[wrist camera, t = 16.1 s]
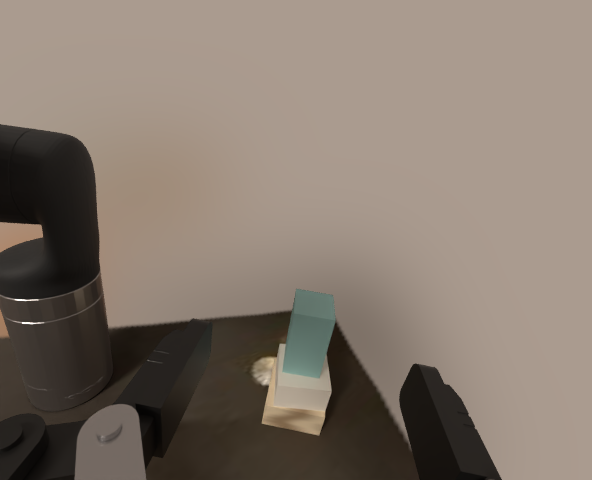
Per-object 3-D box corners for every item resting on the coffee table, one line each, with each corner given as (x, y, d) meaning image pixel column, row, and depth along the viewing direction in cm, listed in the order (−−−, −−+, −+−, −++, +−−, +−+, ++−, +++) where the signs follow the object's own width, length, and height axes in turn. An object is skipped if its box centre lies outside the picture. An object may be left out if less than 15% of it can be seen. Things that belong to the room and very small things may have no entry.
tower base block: (261, 424, 38) (265, 405, 36) (271, 375, 45) (275, 357, 44) (318, 436, 38) (325, 417, 36) (319, 385, 45) (324, 367, 43)
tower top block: (273, 406, 36) (277, 385, 35) (276, 362, 43) (279, 343, 41) (325, 411, 37) (331, 391, 35) (320, 368, 43) (325, 349, 42)
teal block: (282, 372, 37) (293, 313, 32) (285, 343, 41) (296, 288, 37) (319, 378, 37) (335, 320, 32) (318, 349, 41) (333, 295, 37)
